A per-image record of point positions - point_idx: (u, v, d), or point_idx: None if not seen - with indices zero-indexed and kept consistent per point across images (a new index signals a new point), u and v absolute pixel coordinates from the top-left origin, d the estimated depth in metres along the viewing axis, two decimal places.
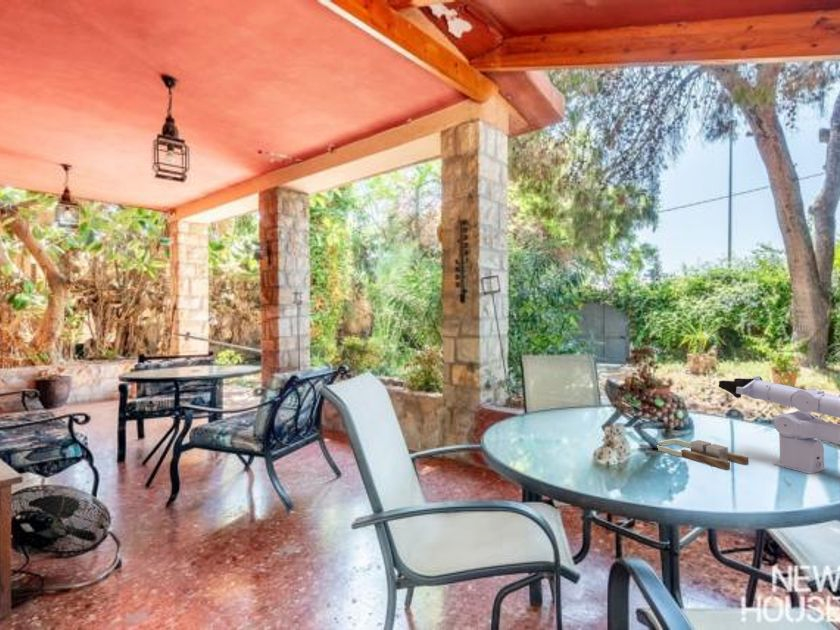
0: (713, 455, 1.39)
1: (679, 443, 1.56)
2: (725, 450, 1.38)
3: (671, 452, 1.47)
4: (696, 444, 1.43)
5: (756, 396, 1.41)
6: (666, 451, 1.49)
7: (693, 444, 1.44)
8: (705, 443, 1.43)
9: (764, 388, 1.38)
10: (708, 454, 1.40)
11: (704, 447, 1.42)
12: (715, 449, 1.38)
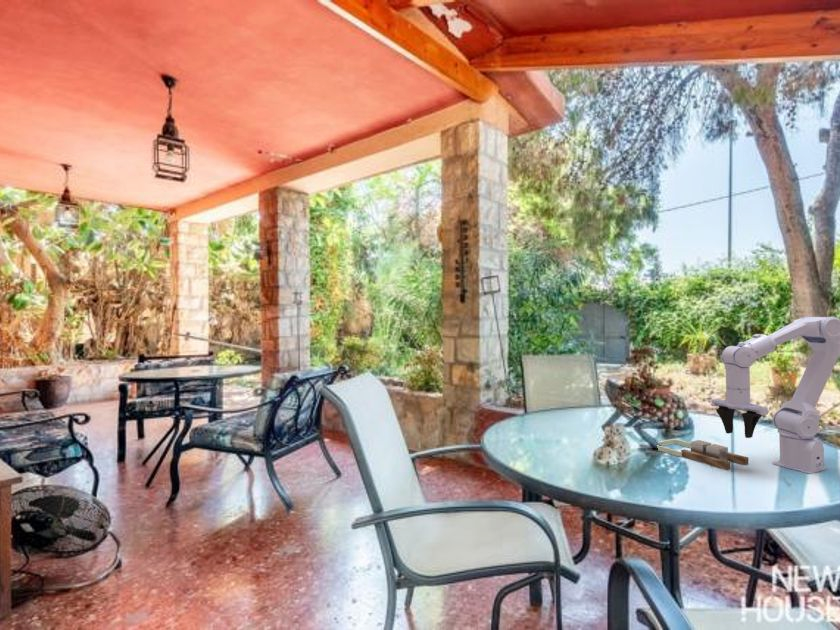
0: (713, 455, 1.39)
1: (679, 443, 1.56)
2: (725, 450, 1.38)
3: (671, 452, 1.47)
4: (696, 444, 1.43)
5: None
6: (666, 451, 1.49)
7: (693, 444, 1.44)
8: (705, 443, 1.43)
9: (744, 393, 1.31)
10: (708, 454, 1.40)
11: (704, 447, 1.42)
12: (715, 449, 1.38)
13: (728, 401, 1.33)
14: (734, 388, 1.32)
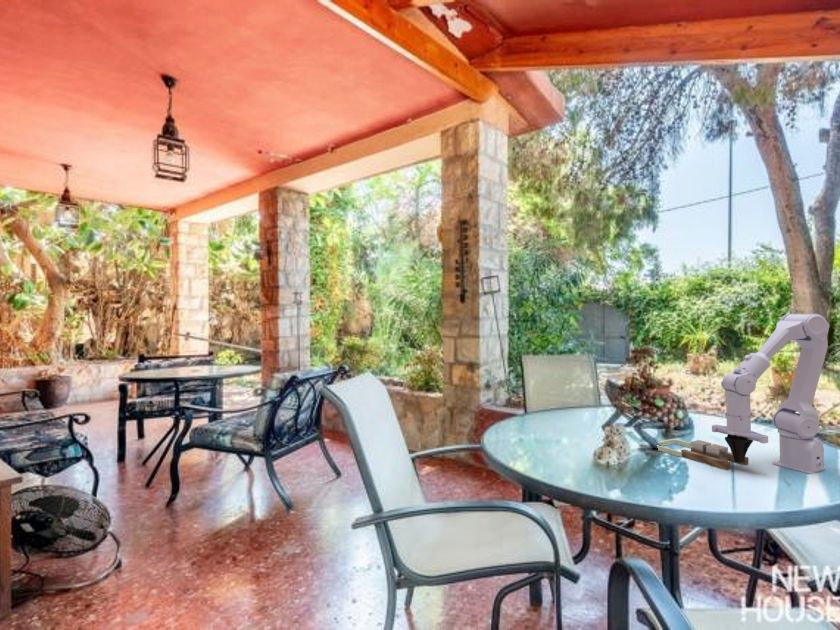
0: (713, 455, 1.39)
1: (679, 443, 1.56)
2: (725, 450, 1.38)
3: (671, 452, 1.47)
4: (696, 444, 1.43)
5: (750, 427, 1.32)
6: (666, 451, 1.49)
7: (693, 444, 1.44)
8: (705, 443, 1.43)
9: (744, 420, 1.31)
10: (708, 454, 1.40)
11: (704, 447, 1.42)
12: (715, 449, 1.38)
13: (728, 428, 1.33)
14: (735, 415, 1.32)
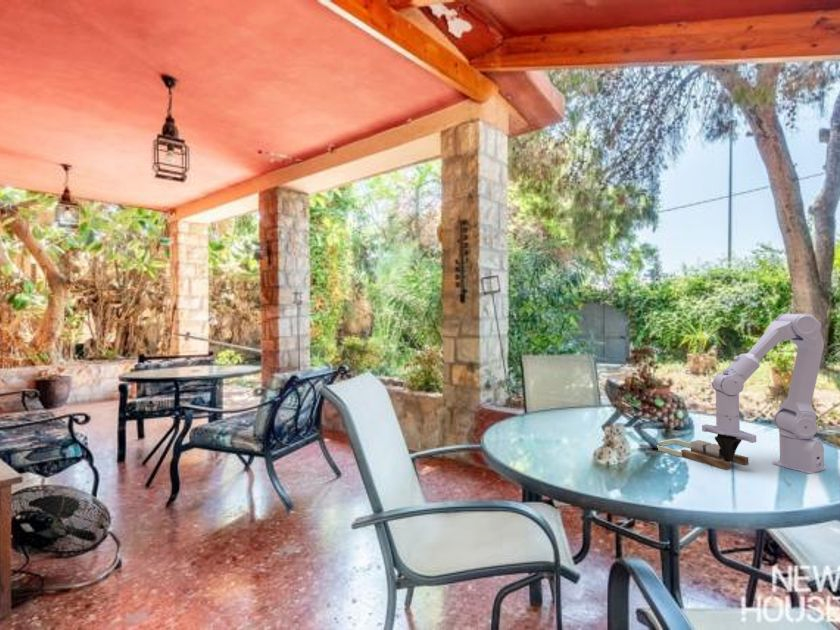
0: (713, 455, 1.39)
1: (679, 443, 1.56)
2: None
3: (671, 452, 1.47)
4: (696, 444, 1.43)
5: (739, 427, 1.35)
6: (666, 451, 1.49)
7: (693, 444, 1.44)
8: (705, 443, 1.43)
9: (733, 420, 1.33)
10: (708, 454, 1.40)
11: (704, 447, 1.42)
12: (715, 449, 1.38)
13: (718, 428, 1.36)
14: (722, 415, 1.35)
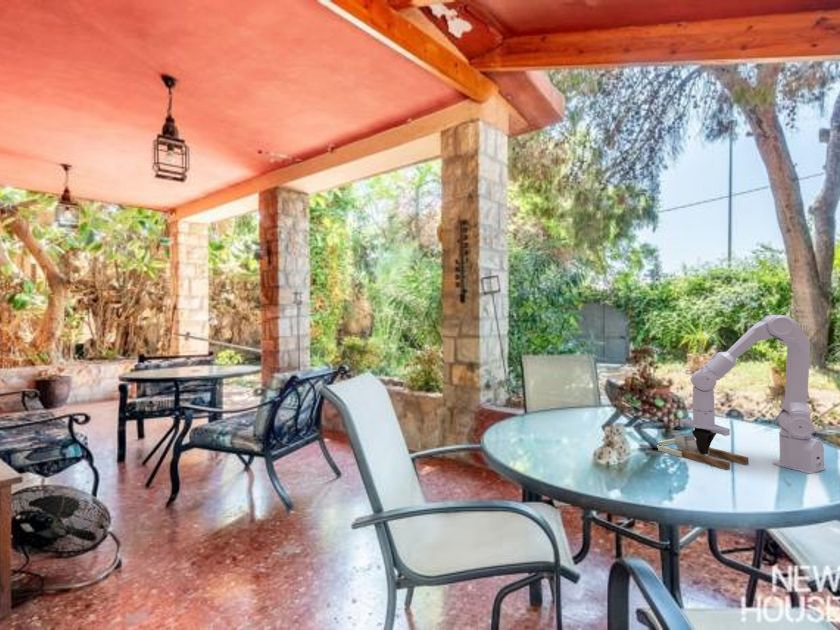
0: (692, 448, 1.45)
1: None
2: None
3: (671, 452, 1.47)
4: (679, 437, 1.50)
5: (714, 421, 1.42)
6: (666, 451, 1.49)
7: (676, 437, 1.51)
8: (687, 435, 1.49)
9: (708, 414, 1.40)
10: (689, 448, 1.46)
11: (686, 438, 1.48)
12: (693, 441, 1.45)
13: (694, 422, 1.43)
14: (695, 409, 1.42)
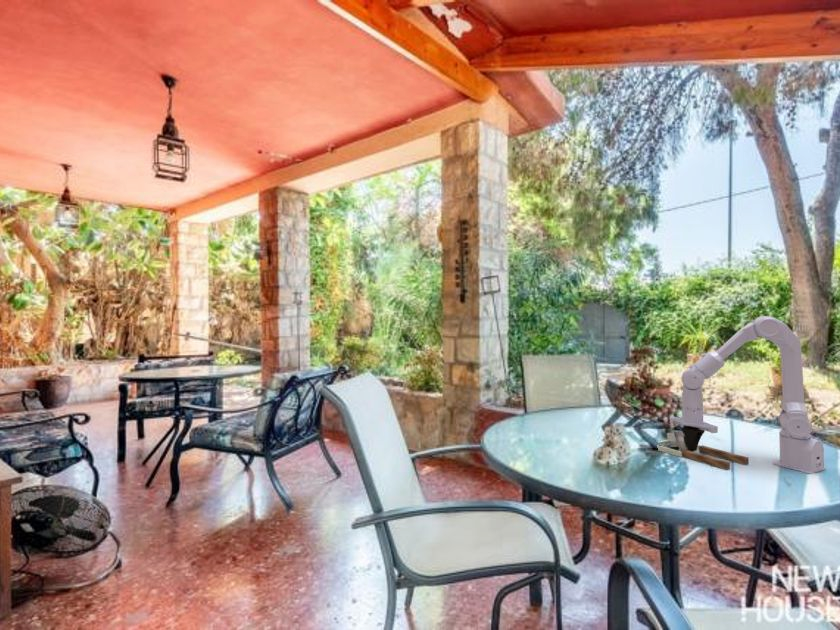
0: (681, 443, 1.49)
1: None
2: None
3: (671, 452, 1.47)
4: (670, 433, 1.54)
5: None
6: (666, 451, 1.49)
7: (668, 434, 1.55)
8: (678, 432, 1.53)
9: (697, 412, 1.43)
10: (679, 444, 1.50)
11: (677, 435, 1.52)
12: (681, 437, 1.49)
13: (683, 419, 1.46)
14: (684, 407, 1.46)
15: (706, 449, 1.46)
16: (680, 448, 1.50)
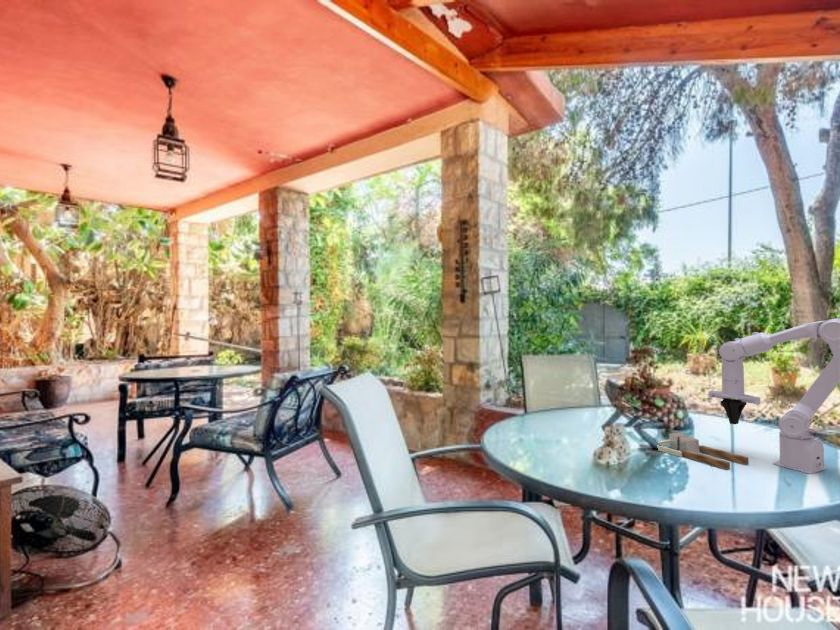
0: (683, 446, 1.48)
1: None
2: (695, 442, 1.47)
3: (671, 452, 1.47)
4: (673, 436, 1.53)
5: None
6: (666, 451, 1.49)
7: (671, 435, 1.54)
8: (682, 436, 1.52)
9: (738, 384, 1.42)
10: (680, 445, 1.50)
11: None
12: (684, 440, 1.48)
13: (724, 392, 1.44)
14: (723, 379, 1.45)
15: (706, 449, 1.46)
16: (680, 448, 1.50)
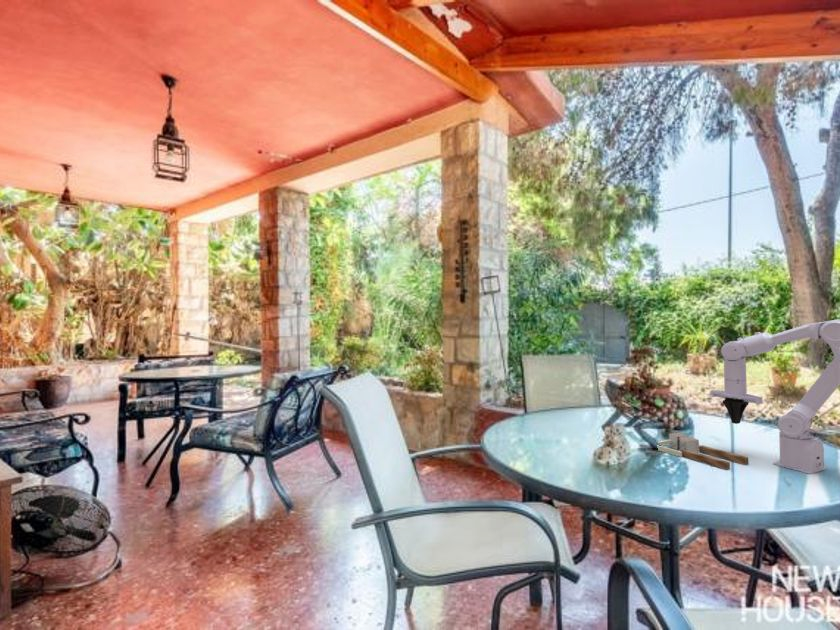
0: (683, 446, 1.48)
1: None
2: (695, 442, 1.47)
3: (671, 452, 1.47)
4: (673, 436, 1.53)
5: (746, 390, 1.43)
6: (666, 451, 1.49)
7: (671, 435, 1.54)
8: (682, 436, 1.52)
9: (741, 384, 1.42)
10: (680, 445, 1.50)
11: None
12: (684, 440, 1.48)
13: (726, 392, 1.45)
14: (725, 378, 1.45)
15: (706, 449, 1.46)
16: (680, 448, 1.50)
